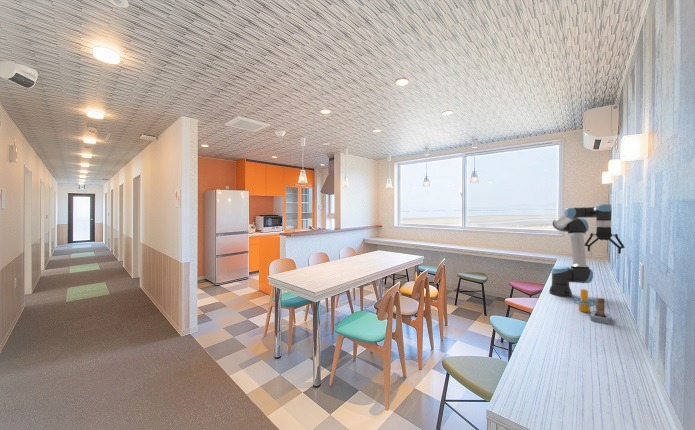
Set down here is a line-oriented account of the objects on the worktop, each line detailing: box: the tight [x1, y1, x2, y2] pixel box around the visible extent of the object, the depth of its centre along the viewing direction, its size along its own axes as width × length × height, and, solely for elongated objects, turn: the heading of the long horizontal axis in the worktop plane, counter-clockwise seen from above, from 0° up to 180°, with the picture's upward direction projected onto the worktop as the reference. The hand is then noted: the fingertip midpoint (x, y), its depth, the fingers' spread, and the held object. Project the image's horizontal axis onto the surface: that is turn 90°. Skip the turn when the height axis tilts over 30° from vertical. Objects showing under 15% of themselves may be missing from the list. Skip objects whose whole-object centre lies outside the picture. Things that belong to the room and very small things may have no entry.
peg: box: [595, 297, 606, 317], centre depth 178 cm, size 4×4×14 cm
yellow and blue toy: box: [572, 288, 596, 313], centre depth 194 cm, size 12×10×15 cm
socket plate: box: [590, 310, 611, 325], centre depth 179 cm, size 12×9×3 cm
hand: (603, 257), depth 189 cm, fingers open, 13 cm apart
